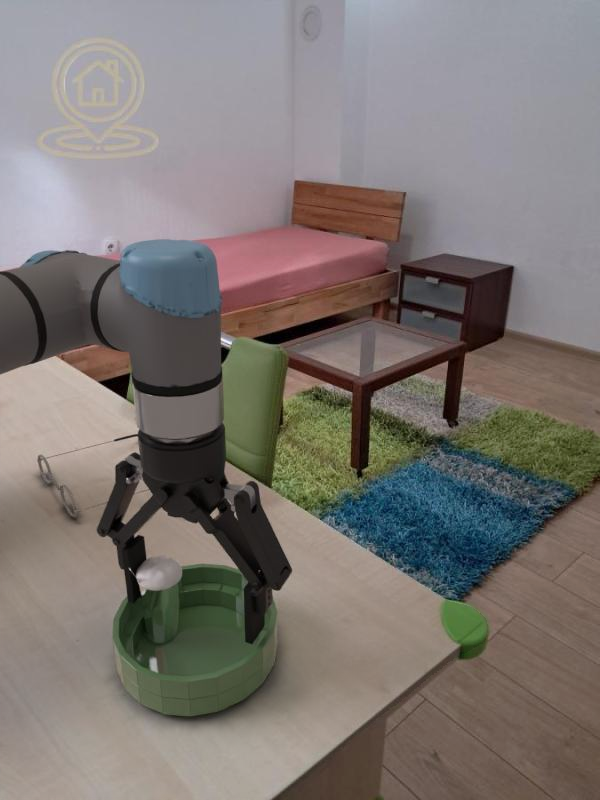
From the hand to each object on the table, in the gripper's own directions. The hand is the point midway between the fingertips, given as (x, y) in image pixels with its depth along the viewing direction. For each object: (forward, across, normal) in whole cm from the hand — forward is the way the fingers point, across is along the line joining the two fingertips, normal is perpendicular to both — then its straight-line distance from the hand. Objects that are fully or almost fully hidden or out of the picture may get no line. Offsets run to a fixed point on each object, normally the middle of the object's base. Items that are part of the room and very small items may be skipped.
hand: (194, 613), depth 64 cm
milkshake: (+5, +5, 0) cm, 7 cm away
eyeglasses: (+6, +30, -25) cm, 39 cm away
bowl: (+5, 0, 0) cm, 5 cm away
